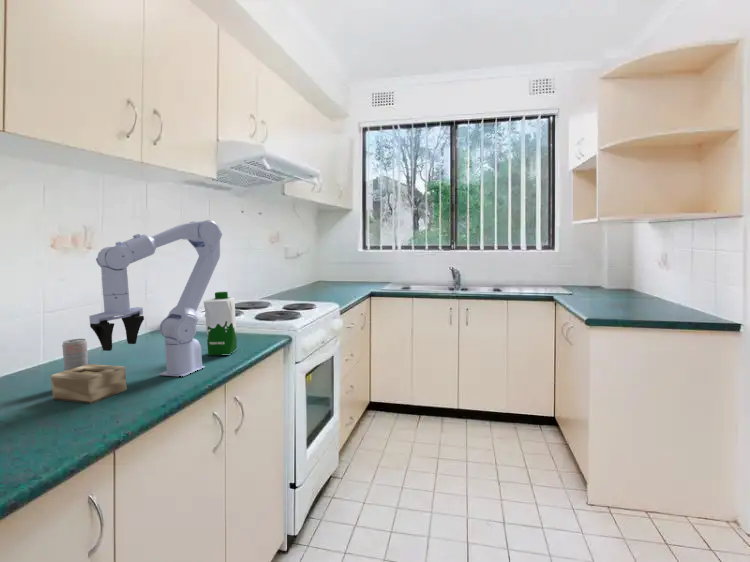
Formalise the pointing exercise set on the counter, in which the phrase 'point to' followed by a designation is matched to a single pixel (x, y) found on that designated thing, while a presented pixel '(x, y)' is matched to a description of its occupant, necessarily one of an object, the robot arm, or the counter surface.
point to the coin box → (88, 383)
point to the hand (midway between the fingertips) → (120, 347)
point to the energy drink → (75, 353)
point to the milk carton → (220, 324)
